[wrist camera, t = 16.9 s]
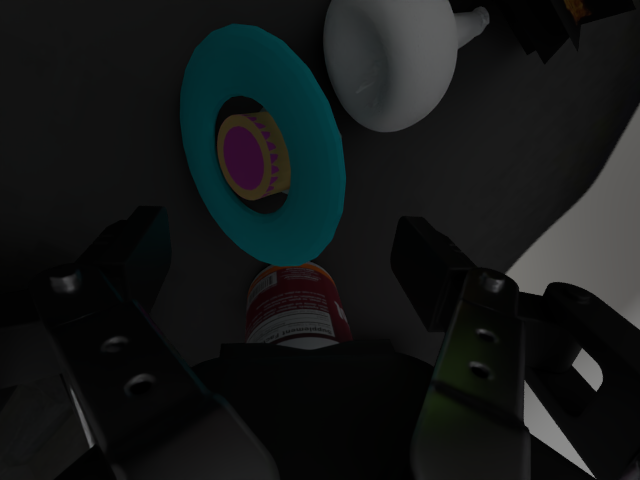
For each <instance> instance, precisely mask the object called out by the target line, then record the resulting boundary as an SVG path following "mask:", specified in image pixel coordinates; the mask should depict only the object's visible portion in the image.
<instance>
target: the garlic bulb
mask: <svg viewBox="0 0 640 480" xmlns="http://www.w3.org/2000/svg"><path fill="white" fill-rule="evenodd" d="M487 24H489V13H488V11H487V10H486V8H484V7H482V6H481V7H478V8H475V9H474V10H473V11H472V12H463V13H454V14H453V11H452V8H451V5H450V3H449V1H448V0H331V3H330V5H329V7H328V10H327V14H326V18H325V24H324V33H323V49H324V57H325V64H326V68H327V71H328V75H329V79H330V82H331V84H332V87H333V89H334V91H335V94H336V95H337V97H338V99H339V101H340V103H341V104H342V106H343V107H344V109H345V110H346V111H347V113H348V114H349V115H350V116H351V117H352V118H353V119H354V120H355V121H357V122H358V123H359V124H361V125H363V126H364V127H366V128H368V129H370V130H374V131H378V132H394V131H398V130H402V129H405V128H407V127H409V126H411V125H413V124H415V123H417V122H418V121H420V120H421V119H423V118H424V117H426V116H427V115H428V114H429V113H430V112H431V111H432V110H433V109H434V108H435V107H436V106H437V104H438V103H439V102H440V100H441V99H442V97H443V96H444V94H445V92H446V91H447V89H448V86H449V84H450V82H451V79H452V76H453V74H454V70H455V66H456V60H457V50H458V49H459V48H461V47H462V46H464V45H465V44H466V43H468V42H469V41H470V40H472V39H473V38H474V37H475V36H478V35H480V34H481V33H482V32H483V30H484V28H485V27H486V25H487Z"/></svg>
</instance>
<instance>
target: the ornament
mask: <svg viewBox="0 0 640 480" xmlns="http://www.w3.org/2000/svg"><path fill="white" fill-rule="evenodd" d="M235 96H245V97H249V98H252V99H254V100H256V101H257V102H258V103H260V104H261V105H262V106H263V108H262V109H261V110H260V112H258V113H247V114H237V115H231V116H229V117H228V118H227V119H225V121H224V122H223V123H222V125H221V127H220V130H219V133H218V140H217V151H218V156H217V151H216V143H215V128H216V120H217V117H218V114H219V111H220V109H221V107H222V106H223V104H224V103H225V101H227V100H228V99H230V98H231V97H235ZM180 124H181V132H182V140H183V146H184V150H185V154H186V158H187V161H188V165H189V169H190V172H191V174H192V177H193V179H194V182H195V184H196V187H197V189H198V192H199V194H200V196H201V197H202V199H203V201H204V203H205V205H206V207H207V208H208V210H209V212H210V214H211V215H212V217H213V218H214V219H215V221H216V222H217V223H218V225H219V226H220V227H221V229H222V230H223V231H224V233H225V234H226V235H227V236H228V237H229V238H230V239H231V240H232V241H233V242H234V243H235V244H236V245H238V246H239V247H240V248H241V249H242V250H243V251H245V252H247V253H248V254H250V255H251V256H253V257H254V258H256V259H258V260H259V261H263V262H266V263H269V264H272V265H275V266H280V267H284V266H300V265H302V264H304V263H306V262H308V261H310V260H312V259H315V258H317V257H318V256H319V254H320V253H321V252H322V251H323V250H324V249H325V247H326V246H327V245H328V244H329V243H330V242H331V240H332V238H333V236H334V233H335V231H336V228H337V226H338V223H339V220H340V218H341V215H342V212H343V205H344V195H345V185H346V172H345V164H344V155H343V147H342V135H341V134H340V132H339V130H338V128H337V125H336V122H335V119H334V116H333V113H332V110H331V107H330V104H329V101H328V100H327V98H326V96H325V95H324V93H323V91H322V89H321V88H320V86H319V84H318V83H317V81H316V79H315V77H314V76H313V74H312V72H311V71H310V69H309V68H308V66H307V65H306V64H305V63H304V62H303V61H302V60H301V59H300V58H299V57H298V56H297V55H296V54H295V53H294V52H293V51H292V50H291V49H290V48H289V47H288V45H287V44H286V43H285V42H284V41H283V40H281V39H279V38H277V37H275V36H274V35H272V34H270V33H268V32H266V31H265V30H263V29H261V28H259V27H257V26H250V25H241V24H231V25H228V26H225V27H223V28H220V29H217V30H215V31H212V32H211V33H210V34H209V35H208V36H207V37H206V38H205V39H204V40H203V41H202V42H201V43H200V44H199V45H198V46H197V47H196V48H195V50H194V52H193V54H192V56H191V58H190V60H189V62H188V65H187V67H186V69H185V73H184V78H183V83H182V88H181V92H180ZM218 158H219V160H218ZM219 163H220V164H219ZM225 178H226V179H225ZM226 180H227V181H226ZM229 185H230V186H229ZM230 187H231V188H232V189H233V190H234V191H235V192H236V193H237V194H238V195H239V196H241V197H242V198H244V199H247V200H257V199H260V198H263V197H266V196H269V195H272V194H275V193H278V192H283V193H285V194H288V197H287V200H286V201H285V203H284V204H283V206H282V207H281V208H280V209H278V210H277V211H276V212H274V213H269V214H261V213H257V212H255V211H253V210H251V209H250V208H248V207H247V206H246V205H245V204H244V203H243V202H241V201H240V200H239V198H238V197H237V196H236V195H235V193H234V192H233V191H232V189H231V188H230Z"/></svg>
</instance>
